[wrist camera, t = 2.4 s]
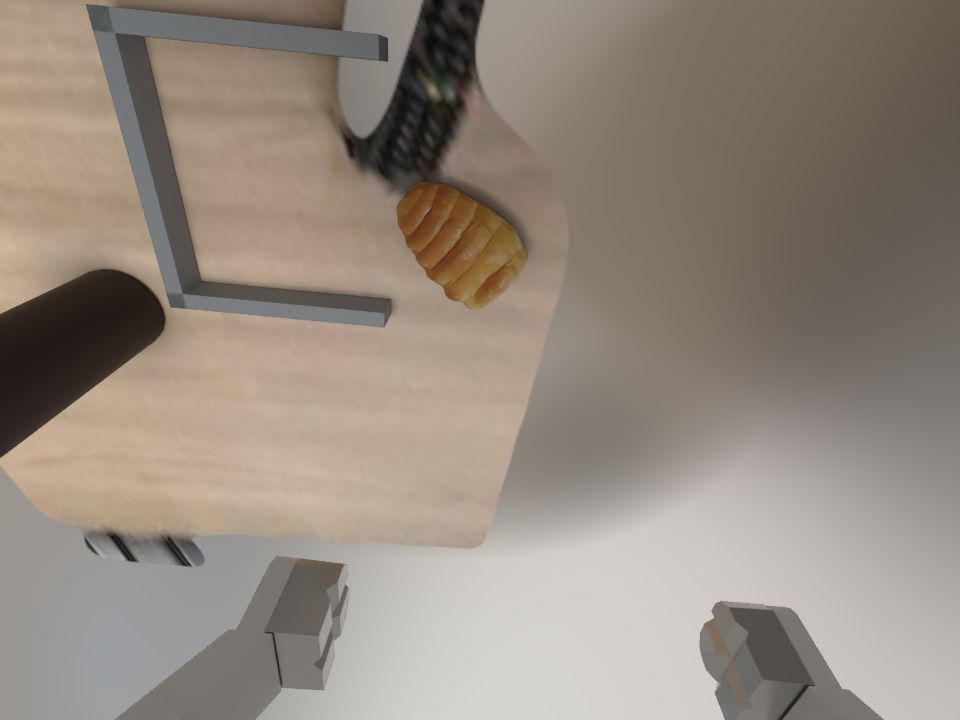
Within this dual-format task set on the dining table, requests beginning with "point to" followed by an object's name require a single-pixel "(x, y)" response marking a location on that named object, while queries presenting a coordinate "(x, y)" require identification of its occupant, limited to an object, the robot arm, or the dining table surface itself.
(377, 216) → the dining table surface
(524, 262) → the pastry
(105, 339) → the bottle
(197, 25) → the corral
